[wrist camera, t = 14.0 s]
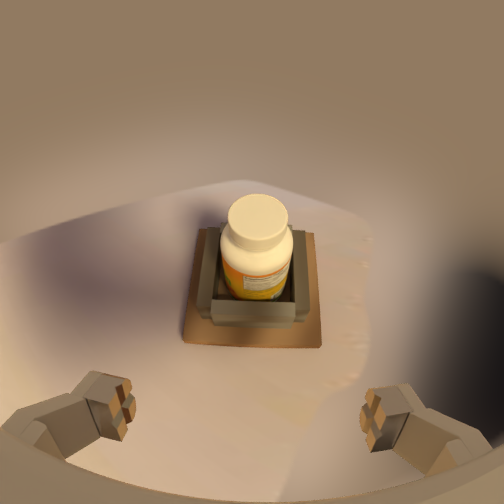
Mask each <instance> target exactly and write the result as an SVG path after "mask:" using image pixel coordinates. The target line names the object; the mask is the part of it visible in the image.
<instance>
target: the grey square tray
mask: <svg viewBox="0 0 504 504" xmlns="http://www.w3.org/2000/svg"><path fill="white" fill-rule="evenodd" d="M227 224H228V223H221V228H215V227H208V229H200V230H199V235H198V241H197V247H196V252H195V258H194V264H193V270H192V277H191V283H190V289H189V296H188V303H187V310H186V317H185V324H184V332H183V339H182V340H183V341H184V342H185V343H193V344H205V345H219V346H236V347H259V348H320V346H321V345H322V341H321V321H320V304H319V290H318V276H317V264H316V253H315V243H314V233H305V231H300V230H292V225H287V226H288V227H289V229H290V231H291V233H292V237H293V251H292V255H291V260H290V265H289V269H288V274H287V279H286V283H285V287H284V290H283V292H282V294H281V296H280V297H279V299H278V300H277V301H276V302H256V301H235V300H234V299H233V298H232V297H231V296H230V294H229V292H228V289H227V286H226V280H225V274H224V268H223V261H222V254H221V245H220V241H221V235H222V232H223V230H224V228H225V226H226V225H227Z"/></svg>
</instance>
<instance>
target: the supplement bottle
mask: <svg viewBox="0 0 504 504" xmlns="http://www.w3.org/2000/svg"><path fill="white" fill-rule="evenodd" d="M287 223H288V214H287V211H286V208H285V207H284V205H283V204H282V203H281V202H280V201H279V200H277V199H276V198H274V197H272V196H269V195H265V194H250V195H246V196H243V197H241V198H239V199H238V200H236V201H235V202H234V203H233V204H232V206H231V207H230V209H229V211H228V224H227V225H226V226H225V228H224V230H223V232H222V235H221V241H220V245H221V254H222V261H223V268H224V274H225V280H226V286H227V289H228V292H229V294H230V296H231V297H232V298H233V299H234V300H235V301H256V302H276V301H277V300H278V299H279V297H280V296H281V294H282V292H283V290H284V287H285V283H286V279H287V274H288V269H289V265H290V260H291V255H292V251H293V237H292V233H291V231H290V229H289V227H288V226H287Z"/></svg>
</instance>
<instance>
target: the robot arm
mask: <svg viewBox="0 0 504 504" xmlns="http://www.w3.org/2000/svg"><path fill="white" fill-rule="evenodd" d="M131 390H132V385H131V381H130V380H129V379H127V378H123V377H118V376H114V375H110V374H105V373H101V372H97V371H90V372H89V373H88V374H87V375H86V376H85V377H84V379H83V380H82V381H81V382H80V383H79V384H78V385H77V387H76V388H75V389H74V390H73V391H72V392H71V394H68V393H65V394H63V395H60V396H57V397H54V398H51V399H48V400H45V401H43V402H40V403H37V404H34V405H31V406H27V407H24V408H21V409H18V410H16V411H15V413H14V414H13V415H12V416H11V417H10V418H9V419H8V420H7V421H6V422H5V423H4V424H3V425H2V426H1V427H0V504H504V444H503V445H501V446H499V447H497V448H495V449H492V447H491V446H490V445H489V443H488V442H487V440H486V439H485V438H484V437H483V435H482V434H481V433H480V431H479V430H478V429H475V428H473V427H470V426H468V425H466V424H464V423H461V422H459V421H457V420H454V419H452V418H450V417H448V416H446V415H443V414H441V413H439V412H437V411H434V410H433V409H430V408H429V409H426V408H425V406H424V405H423V404H422V402H421V401H420V399H419V398H418V396H417V395H416V393H415V392H414V391H413V389H412V388H411V386H410V385H409V384H407V383H404V384H398V385H394V386H387V387H379V388H371V389H368V391H367V392H366V395H365V399H366V401H367V403H366V404H365V405H364V406H362V408H361V412H360V426H361V429H362V431H363V432H365V433H366V434H367V437H366V442H367V445H368V447H369V450H370V452H371V453H372V452H378V451H384V450H390V449H393V451H394V452H395V453H397V454H398V455H399V456H401V457H402V458H403V459H405V460H406V461H407V462H408V463H410V464H411V465H412V466H414V467H415V468H416V469H418V470H419V471H420V472H422V473H423V474H425V477H424V478H423V479H420V480H417V481H413V482H409V483H406V484H403V485H399V486H395V487H391V488H387V489H382V490H378V491H374V492H368V493H363V494H358V495H352V496H346V497H339V498H332V499H323V500H313V501H299V502H237V501H223V500H212V499H204V498H196V497H189V496H183V495H177V494H171V493H166V492H161V491H157V490H152V489H148V488H144V487H140V486H136V485H132V484H128V483H125V482H121V481H118V480H115V479H111V478H108V477H105V476H102V475H99V474H96V473H93V472H91V471H88V470H85V469H83V468H80V467H77V466H75V465H73V464H70V463H68V462H66V460H65V459H66V458H68V457H69V456H71V455H73V454H74V453H76V452H78V451H79V450H81V449H83V448H84V447H86V446H88V445H89V444H91V443H92V442H94V441H96V440H97V439H99V438H100V436H101V437H105V438H108V439H112V440H116V441H121V442H122V440H123V438H124V436H125V434H126V432H127V430H128V428H127V425H126V424H128V423H130V422H132V421H133V419H134V417H135V412H136V401H135V397H134V396H133V395H132V394H131V393H130V391H131Z"/></svg>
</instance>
